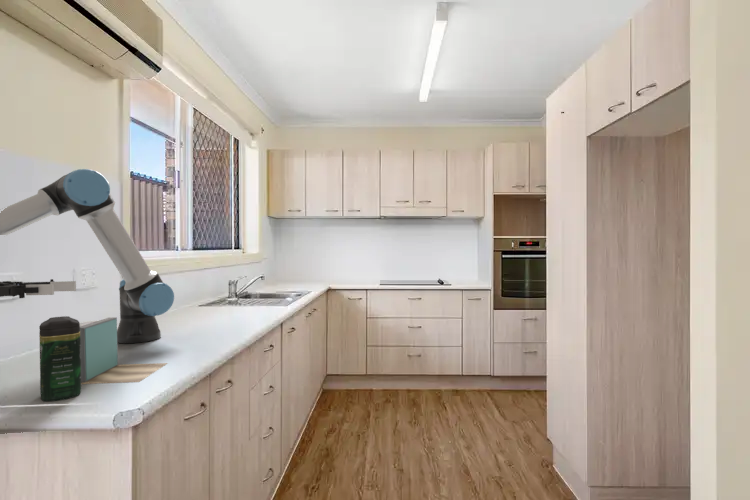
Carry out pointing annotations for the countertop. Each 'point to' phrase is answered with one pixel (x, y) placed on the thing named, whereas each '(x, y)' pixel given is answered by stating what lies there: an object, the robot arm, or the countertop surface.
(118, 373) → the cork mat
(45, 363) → the coffee jar
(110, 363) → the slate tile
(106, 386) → the countertop surface
